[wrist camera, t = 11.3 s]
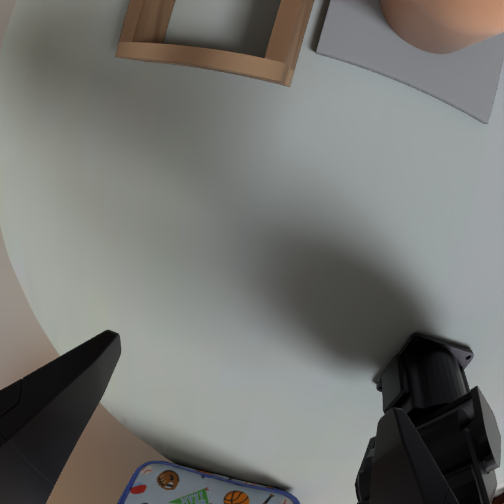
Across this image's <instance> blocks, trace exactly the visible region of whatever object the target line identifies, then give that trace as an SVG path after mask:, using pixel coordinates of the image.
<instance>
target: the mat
mask: <svg viewBox="0 0 504 504" xmlns="http://www.w3.org/2000/svg"><path fill="white" fill-rule="evenodd" d="M316 53H317V54H320V55H323V56H327V57H330V58H334V59H337V60H340V61H343V62H347V63H350V64H353V65H356V66H359V67H362V68H364V69H367V70H370V71H373V72H376V73H378V74H381V75H383V76H386V77H389V78H391V79H394V80H396V81H399V82H401V83H403V84H406V85H408V86H411V87H413V88H415V89H417V90H420V91H422V92H424V93H426V94H428V95H430V96H433V97H435V98H437V99H439V100H441V101H443V102H445V103H447V104H449V105H451V106H453V107H455V108H457V109H459V110H460V111H462V112H464V113H466V114H468V115H470V116H471V117H473V118H475V119H477V120H478V121H480V122H482V123H484V124H488V121H489V118H490V114H491V110H492V107H493V103H494V99H495V95H496V91H497V86H498V82H499V78H500V73H501V68H502V63H503V57H504V33H501V34H498V35H496V36H493V37H490V38H488V39H485V40H483V41H480V42H478V43H475V44H473V45H470V46H468V47H465V48H463V49H461V50H458V51H456V52H453V53H450V54H434V53H429V52H425V51H423V50H420V49H418V48H416V47H414V46H412V45H411V44H409V43H407V42H406V41H405V40H403V39H402V38H401V37H400V36H399V35H398V34H396V32H395V31H394V30H393V29H392V28H391V27H390V25H389V24H388V22H387V21H386V19H385V17H384V15H383V13H382V10H381V7H380V2H379V0H331V1H330V4H329V8H328V11H327V15H326V19H325V22H324V26H323V29H322V33H321V36H320V40H319V43H318V47H317V50H316Z"/></svg>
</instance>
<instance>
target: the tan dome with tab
mask: <svg viewBox="0 0 504 504" xmlns="http://www.w3.org/2000/svg"><path fill="white" fill-rule="evenodd" d="M379 2H380V7H381V10H382V13H383V15H384V17H385V19H386V21H387V22H388V24H389V25H390V27H391V28H392V29H393V30H394V31H395V32H396V34H398V35H399V36H400V37H401V38H402V39H403V40H405V41H406V42H407V43H409V44H411V45H412V46H414V47H416V48H418V49H420V50H423V51H425V52H429V53H434V54H450V53H453V52H456V51H458V50H461V49H463V48H465V47H468V46H470V45H473V44H475V43H478V42H480V41H483V40H485V39H488V38H490V37H493V36H496V35H498V34H501V33H504V0H379Z"/></svg>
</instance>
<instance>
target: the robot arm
mask: <svg viewBox="0 0 504 504" xmlns="http://www.w3.org/2000/svg"><path fill="white" fill-rule="evenodd" d="M415 339H418V340H416V341H414V340H415ZM120 355H121V342H120V335H119V334H118V333H116V332H114V331H111V330H106V331H104V332H102V333H100V334H98V335H97V336H95V337H93V338H91V339H90V340H88V341H86V342H84V343H83V344H81V345H79V346H77V347H76V348H74V349H72V350H70V351H69V352H67V353H65V354H63V355H62V356H60V357H58V358H56V359H55V360H53V361H51V362H49V363H48V364H46V365H44V366H43V367H41V368H39V369H37V370H36V371H34V372H32V373H30V374H29V375H27V376H25V377H24V378H23V379H20V380H18V381H16V382H15V383H13V384H11V385H9V386H7V387H5V388H3V389H2V390H0V504H46V502H47V500H48V498H49V496H50V493H51V492H52V490H53V488H54V485H55V483H56V481H57V479H58V478H59V476H60V474H61V472H62V470H63V468H64V466H65V464H66V462H67V460H68V458H69V456H70V454H71V452H72V451H73V449H74V447H75V445H76V443H77V441H78V439H79V438H80V436H81V434H82V432H83V430H84V428H85V427H86V425H87V423H88V421H89V419H90V418H91V416H92V414H93V412H94V411H95V409H96V407H97V405H98V403H99V402H100V400H101V398H102V396H103V394H104V392H105V390H106V388H107V385H108V383H109V381H110V378H111V376H112V374H113V371H114V369H115V367H116V364H117V362H118V360H119V357H120ZM468 355H469V356H468ZM473 357H474V354H473V352H472V350H470V349H467V348H463V347H460V346H457V345H454V344H451V343H448V342H445V341H442V340H438V339H435V338H432V337H429V336H426V335H423V334H420V333H414V334H412V335H411V336H410V338H409V339H408V341H407V342H406V344H405V345H404V347H403V348H402V350H401V351H400V352H399V353H398V354H397V355H396V356H395V357H394V358H393V360H392V361H391V363H390V364H389V365H388V367H387V368H386V369H385V371H384V372H383V374H382V377H381V379H380V380H379V381H378V382H377V384H376V386H377V390H378V391H380V392H382V395H383V412H384V414H385V415H384V416H383V417H382V418H381V419H380V420H379V422H378V426H377V433H376V436H375V437H373V438H370V441H369V444H368V447H367V450H366V453H365V456H364V458H363V461H362V464H361V467H360V469H359V472H358V474H357V478H356V482H355V488H356V495H357V499H358V503H357V504H491V502H492V499H493V496H494V493H495V490H496V487H497V480H496V475H495V471H494V469H496V468H498V467H500V459H501V436H500V432H499V429H498V426H497V423H496V419H495V416H494V414H493V412H492V410H491V408H490V406H489V405H488V403H487V401H486V399H485V398H484V396H483V394H482V393H481V391H480V389H479V388H478V386H476V387H474V388H473V389H471V391H470V389H469V385H468V382H467V379H466V375H465V372H464V369H465V368H466V366H467V365H468V364H469V363H470V361H471V360H472V359H473Z"/></svg>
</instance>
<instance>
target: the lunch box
mask: <svg viewBox="0 0 504 504" xmlns="http://www.w3.org/2000/svg"><path fill="white" fill-rule="evenodd" d="M117 504H300V502H299V501H298V499H297V498H296V497H295V496H293V495H292V494H290V493H288V492H286V491H283V490H280V489H276V488H273V487H272V486H263V485H259V484H254V483H250V482H245V481H241V480H236V479H232V478H229V477H226V476H222V475H218V474H213V473H209V472H204V471H200V470H196V469H192V468H188V467H184V466H180V465H177V464H175V463H169V462H164V461H149V462H146V463H144V464H142V465H141V466H140V467H139V468H138V469H137V470H136V471H135V473H134V474H133V476H132V478H131V479H130V481H129V483H128V485H127V486H126V488H125V490H124V492H123V494H122V496H121V497H120V499H119V501H118V503H117Z"/></svg>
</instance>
